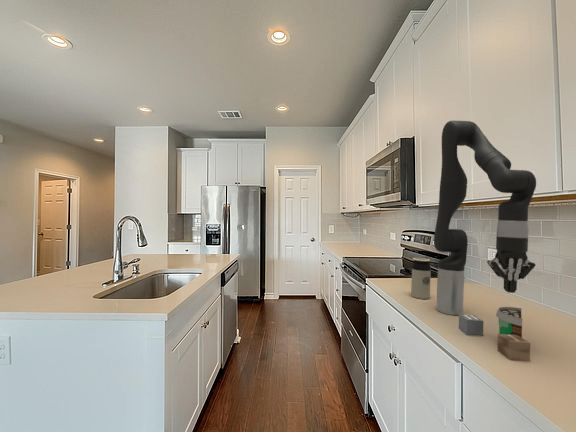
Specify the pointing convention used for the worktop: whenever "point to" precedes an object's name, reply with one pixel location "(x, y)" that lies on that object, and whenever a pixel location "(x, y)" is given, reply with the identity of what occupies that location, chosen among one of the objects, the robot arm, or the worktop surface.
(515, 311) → the food container
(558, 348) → the worktop surface
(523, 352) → the walnut block
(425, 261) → the travel mug
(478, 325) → the slate block
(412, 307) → the worktop surface
